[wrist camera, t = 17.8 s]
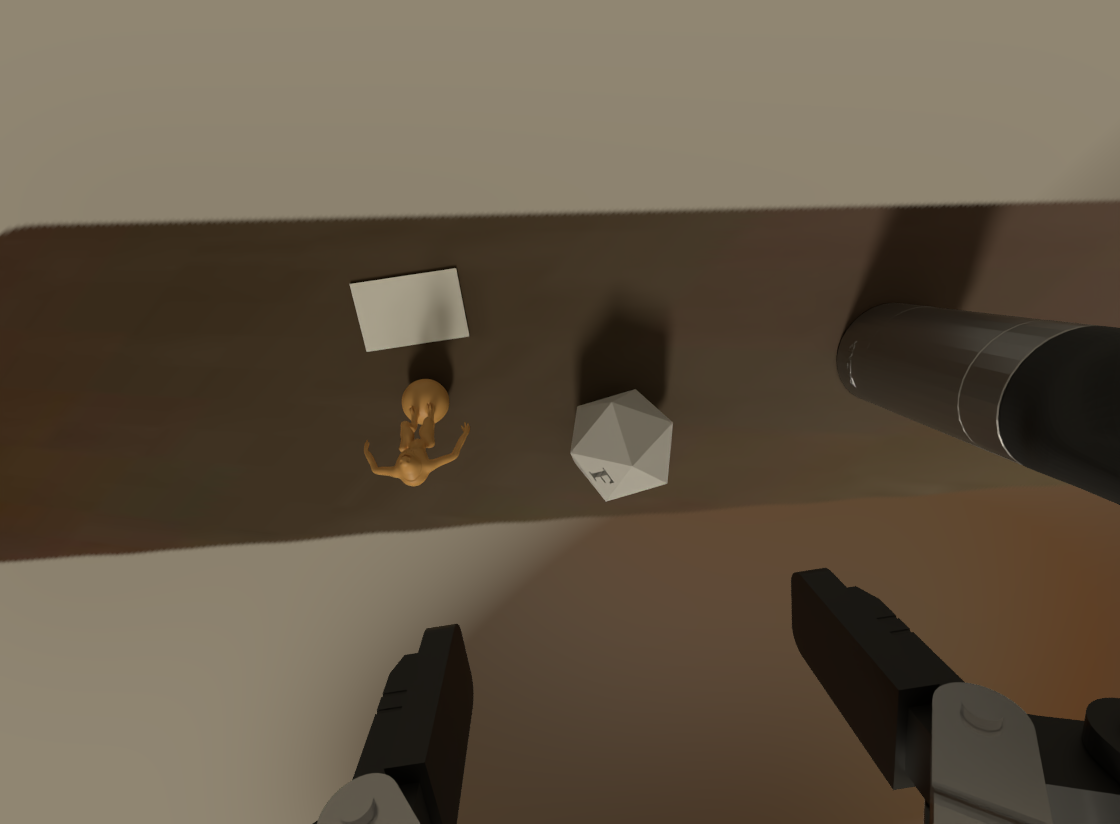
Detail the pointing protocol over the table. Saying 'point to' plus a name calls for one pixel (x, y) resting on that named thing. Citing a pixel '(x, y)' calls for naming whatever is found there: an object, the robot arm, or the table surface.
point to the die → (622, 444)
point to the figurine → (424, 407)
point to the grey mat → (410, 309)
